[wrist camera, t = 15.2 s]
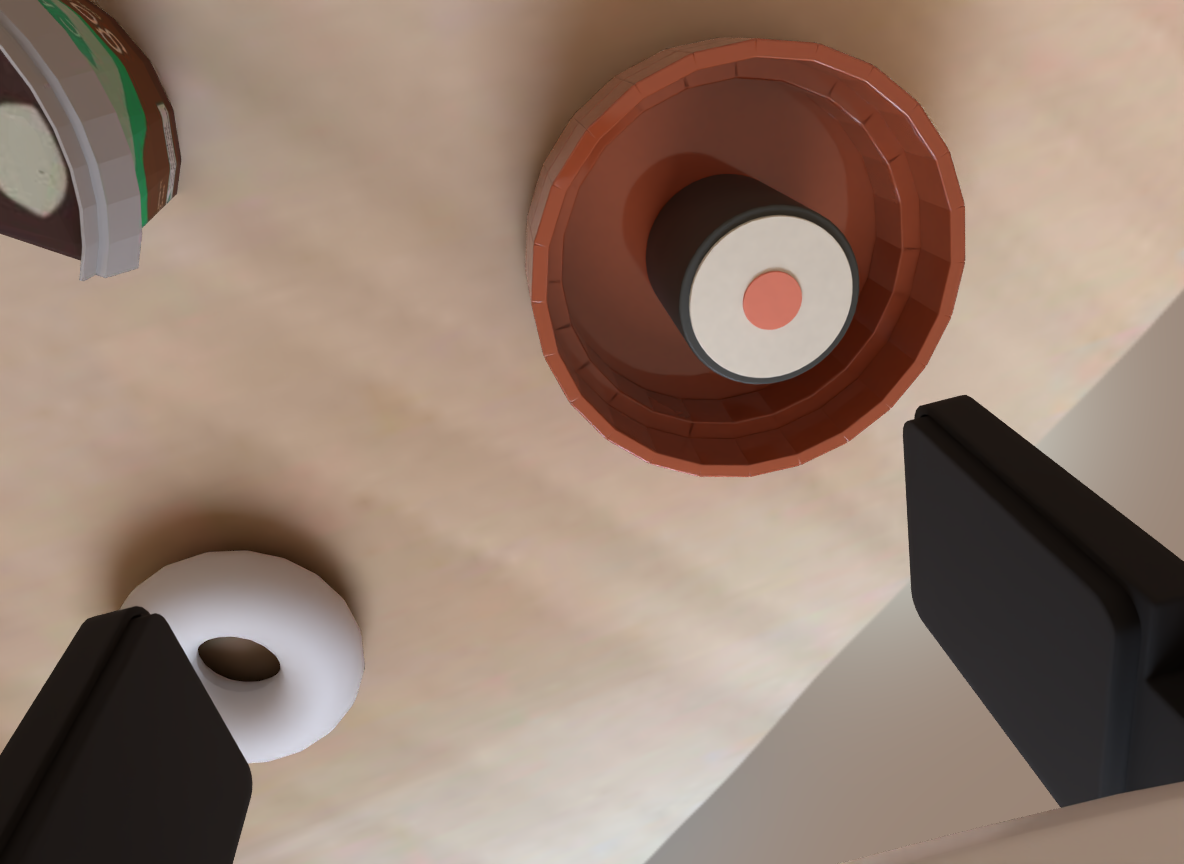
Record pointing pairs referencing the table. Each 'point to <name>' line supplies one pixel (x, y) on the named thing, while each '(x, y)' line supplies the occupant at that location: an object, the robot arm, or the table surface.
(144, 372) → the table surface
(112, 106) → the food container
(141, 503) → the table surface
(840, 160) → the bowl
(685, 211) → the sushi roll
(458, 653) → the table surface
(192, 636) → the donut
